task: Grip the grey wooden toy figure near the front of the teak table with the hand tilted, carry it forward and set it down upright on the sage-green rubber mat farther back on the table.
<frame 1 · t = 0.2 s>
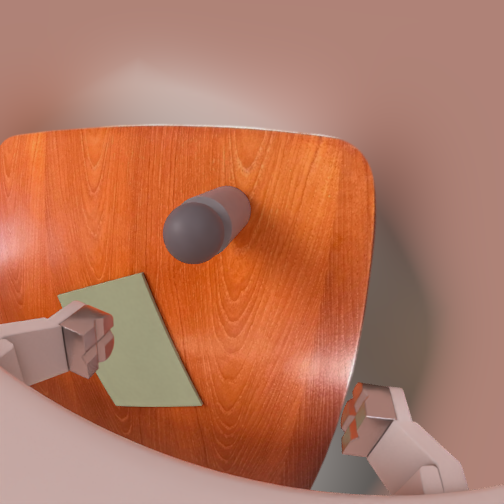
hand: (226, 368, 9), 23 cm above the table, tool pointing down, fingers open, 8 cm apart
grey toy: (227, 209, 32), on the table
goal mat: (126, 350, 40), on the table
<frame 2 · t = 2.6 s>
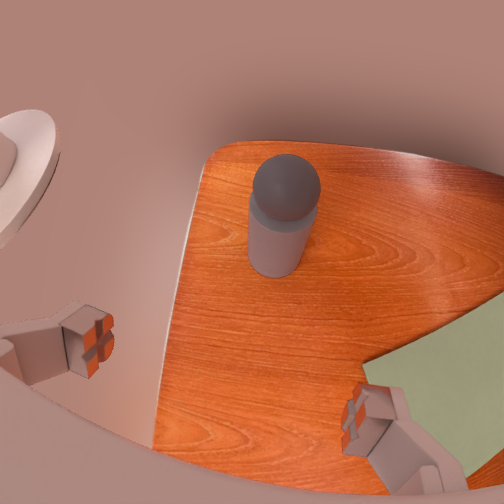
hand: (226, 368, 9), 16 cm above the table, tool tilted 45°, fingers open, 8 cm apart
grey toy: (274, 253, 29), on the table
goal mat: (470, 396, 23), on the table
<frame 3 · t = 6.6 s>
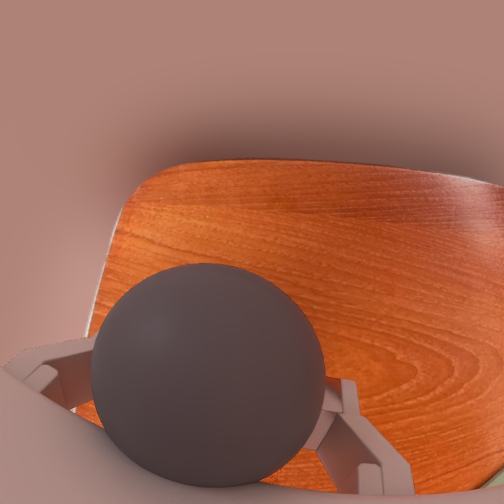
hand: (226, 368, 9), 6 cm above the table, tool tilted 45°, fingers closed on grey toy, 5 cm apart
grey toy: (231, 393, 14), on the table, touching gripper
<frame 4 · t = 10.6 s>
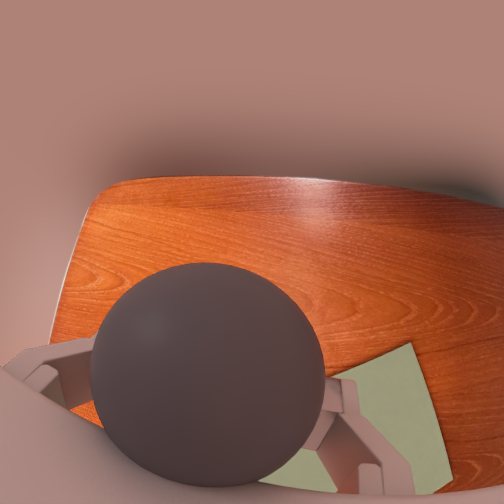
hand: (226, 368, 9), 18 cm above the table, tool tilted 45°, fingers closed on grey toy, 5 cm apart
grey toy: (231, 392, 14), point 12 cm above the table, touching gripper
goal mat: (342, 462, 22), on the table
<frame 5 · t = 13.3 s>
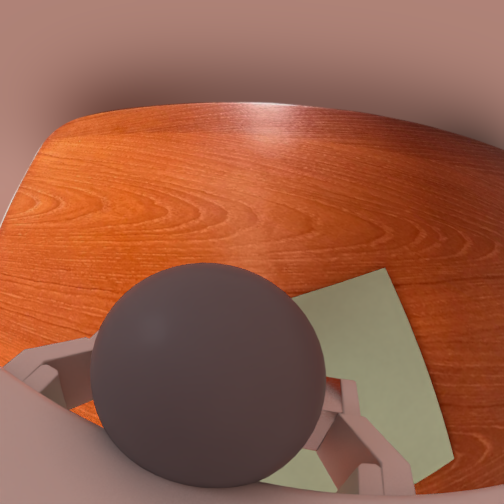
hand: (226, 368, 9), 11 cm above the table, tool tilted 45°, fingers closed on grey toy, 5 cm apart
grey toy: (231, 393, 14), point 5 cm above the table, touching gripper
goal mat: (293, 423, 18), on the table
when the fingers open (6 cm above the table, at t = 15.0 s): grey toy stays where it is, resting on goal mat.
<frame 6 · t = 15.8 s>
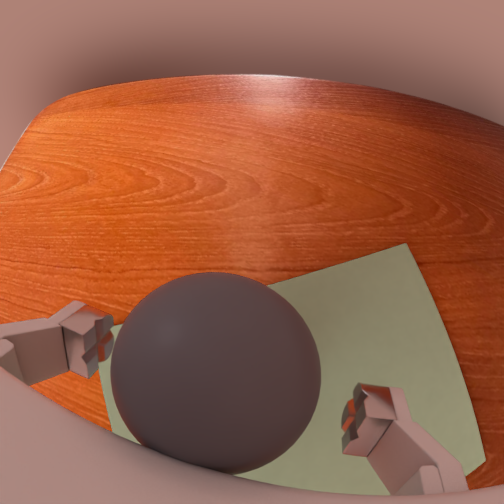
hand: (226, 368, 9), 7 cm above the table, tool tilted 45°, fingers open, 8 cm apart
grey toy: (234, 391, 15), resting on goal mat
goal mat: (305, 425, 15), on the table
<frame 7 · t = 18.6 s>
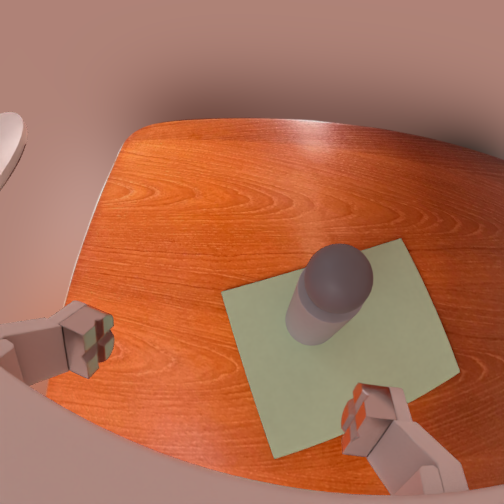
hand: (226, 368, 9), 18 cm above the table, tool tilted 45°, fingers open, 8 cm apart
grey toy: (311, 319, 28), resting on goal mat
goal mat: (350, 339, 28), on the table
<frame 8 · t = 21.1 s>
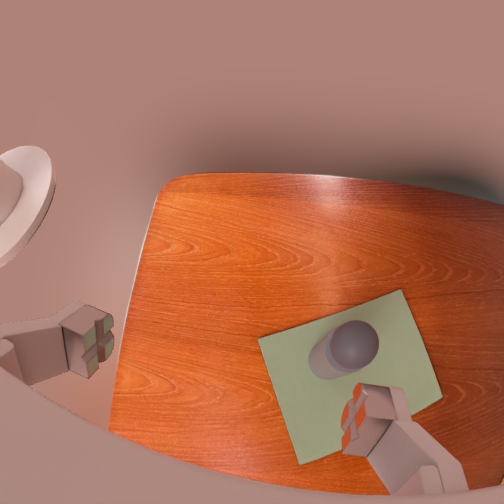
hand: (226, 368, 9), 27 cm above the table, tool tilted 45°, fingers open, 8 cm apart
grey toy: (328, 359, 35), resting on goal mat
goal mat: (357, 374, 35), on the table
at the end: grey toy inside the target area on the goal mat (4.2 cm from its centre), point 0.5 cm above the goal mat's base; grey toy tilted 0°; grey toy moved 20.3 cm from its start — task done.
